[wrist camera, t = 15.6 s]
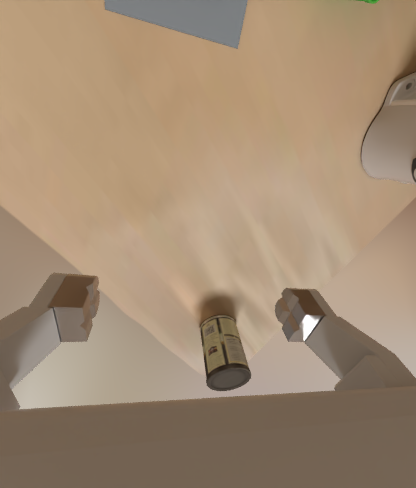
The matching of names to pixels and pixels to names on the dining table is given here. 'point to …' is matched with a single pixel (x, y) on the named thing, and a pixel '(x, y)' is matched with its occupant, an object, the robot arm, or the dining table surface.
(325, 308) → the robot arm
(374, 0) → the fruit basket
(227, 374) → the coffee can
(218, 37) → the mat
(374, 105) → the dining table surface
